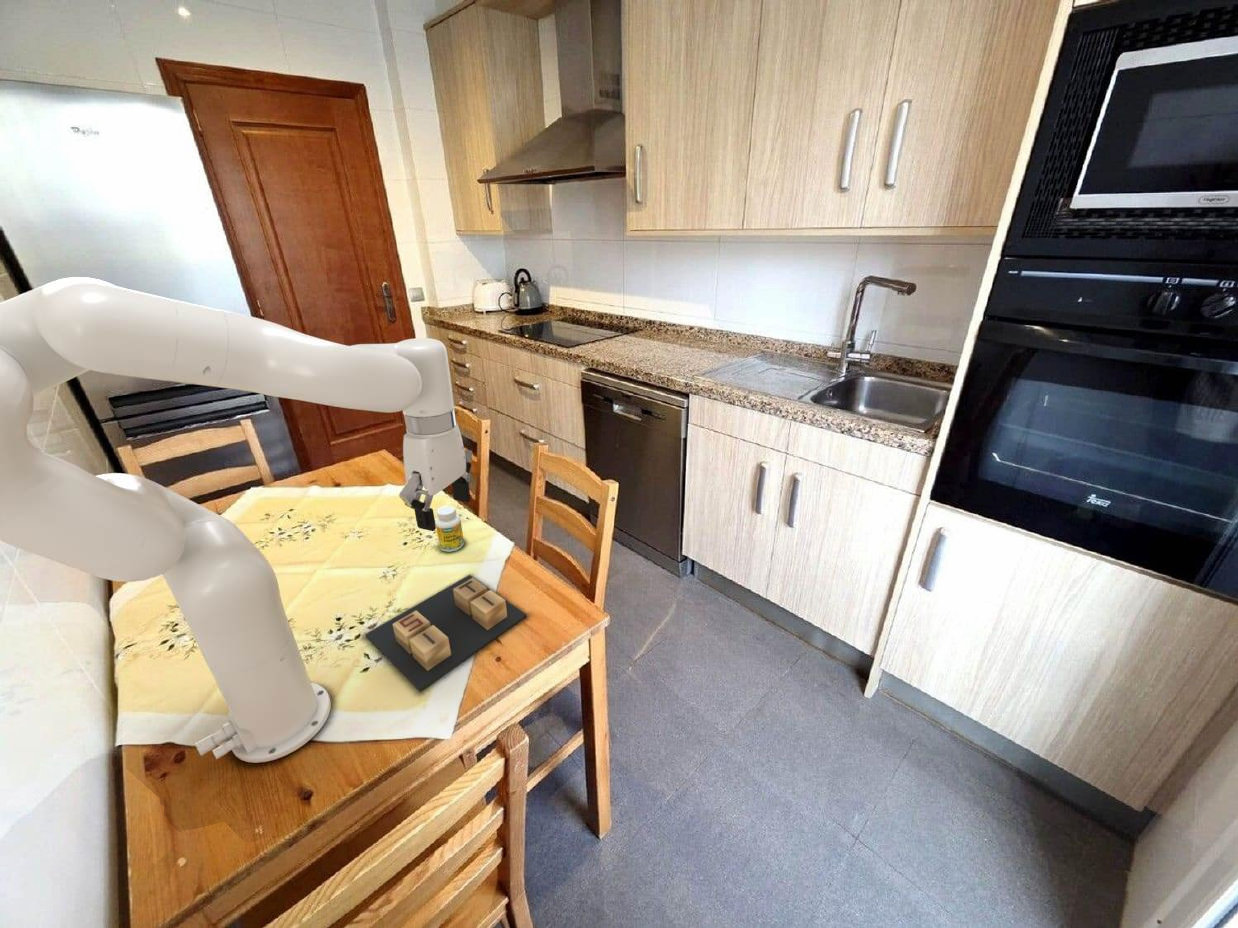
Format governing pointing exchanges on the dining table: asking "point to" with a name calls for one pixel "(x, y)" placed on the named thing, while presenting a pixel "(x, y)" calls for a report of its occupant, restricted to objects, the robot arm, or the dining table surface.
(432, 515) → the robot arm
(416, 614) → the tile
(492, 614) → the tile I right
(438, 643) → the tile
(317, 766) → the dining table surface
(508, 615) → the word mat
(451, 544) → the supplement bottle
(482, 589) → the tile
